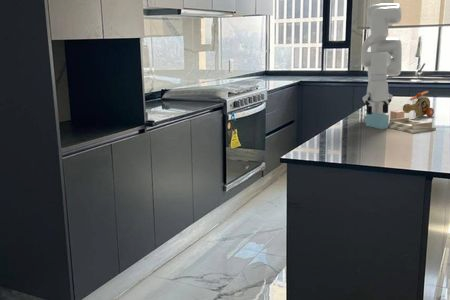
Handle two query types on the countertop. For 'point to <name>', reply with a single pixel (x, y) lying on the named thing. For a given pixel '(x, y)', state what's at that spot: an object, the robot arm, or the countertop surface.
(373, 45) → the robot arm
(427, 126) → the jig
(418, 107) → the toy helicopter
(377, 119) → the light blue block
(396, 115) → the peach brick
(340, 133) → the countertop surface
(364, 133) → the countertop surface
